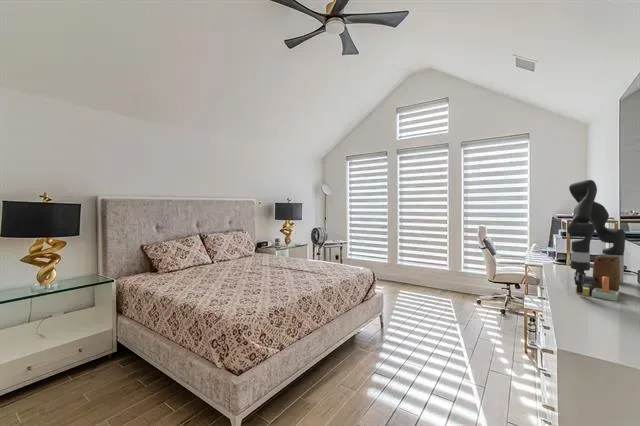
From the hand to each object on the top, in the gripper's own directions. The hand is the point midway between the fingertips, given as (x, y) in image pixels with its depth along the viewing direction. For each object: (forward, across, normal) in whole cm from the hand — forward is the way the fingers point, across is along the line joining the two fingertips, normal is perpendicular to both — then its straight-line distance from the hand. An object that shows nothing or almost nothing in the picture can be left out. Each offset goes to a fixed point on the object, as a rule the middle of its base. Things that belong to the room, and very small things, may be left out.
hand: (579, 292), depth 149 cm
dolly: (+2, -14, 0) cm, 14 cm away
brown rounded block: (+2, -24, +7) cm, 25 cm away
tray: (+2, -8, +9) cm, 12 cm away
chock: (+2, -7, 0) cm, 7 cm away
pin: (+1, -8, +9) cm, 12 cm away
